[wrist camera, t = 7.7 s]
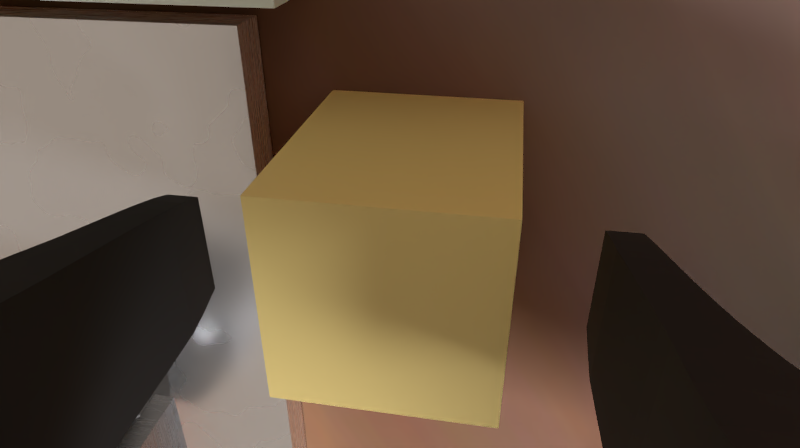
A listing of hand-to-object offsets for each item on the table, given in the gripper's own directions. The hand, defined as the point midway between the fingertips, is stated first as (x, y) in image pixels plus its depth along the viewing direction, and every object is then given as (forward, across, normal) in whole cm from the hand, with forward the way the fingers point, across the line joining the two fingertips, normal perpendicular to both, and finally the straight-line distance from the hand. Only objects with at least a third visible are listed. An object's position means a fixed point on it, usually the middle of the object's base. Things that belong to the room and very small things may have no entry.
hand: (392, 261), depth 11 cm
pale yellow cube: (+3, 0, 0) cm, 3 cm away
